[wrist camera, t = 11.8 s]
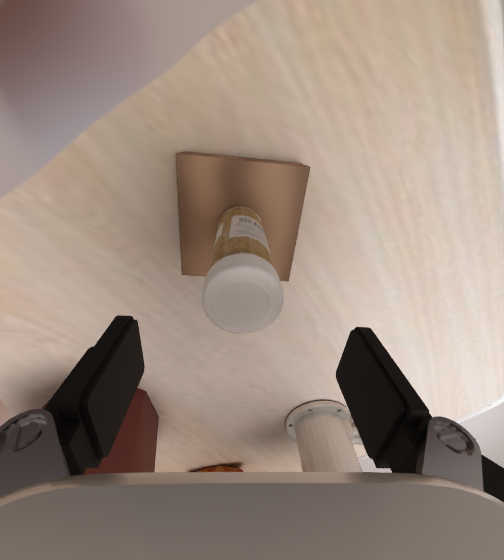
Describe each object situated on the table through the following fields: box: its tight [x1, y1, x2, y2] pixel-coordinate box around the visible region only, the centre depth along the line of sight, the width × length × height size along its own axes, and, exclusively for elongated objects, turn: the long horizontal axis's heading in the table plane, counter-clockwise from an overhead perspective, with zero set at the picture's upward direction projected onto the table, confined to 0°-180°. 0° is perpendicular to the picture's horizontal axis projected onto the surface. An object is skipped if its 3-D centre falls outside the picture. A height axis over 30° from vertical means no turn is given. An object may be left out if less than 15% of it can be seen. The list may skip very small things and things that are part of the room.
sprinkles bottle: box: [202, 206, 283, 333], centre depth 19 cm, size 5×5×13 cm
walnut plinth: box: [176, 152, 310, 281], centre depth 27 cm, size 12×12×4 cm
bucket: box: [41, 388, 159, 475], centre depth 33 cm, size 24×22×25 cm
